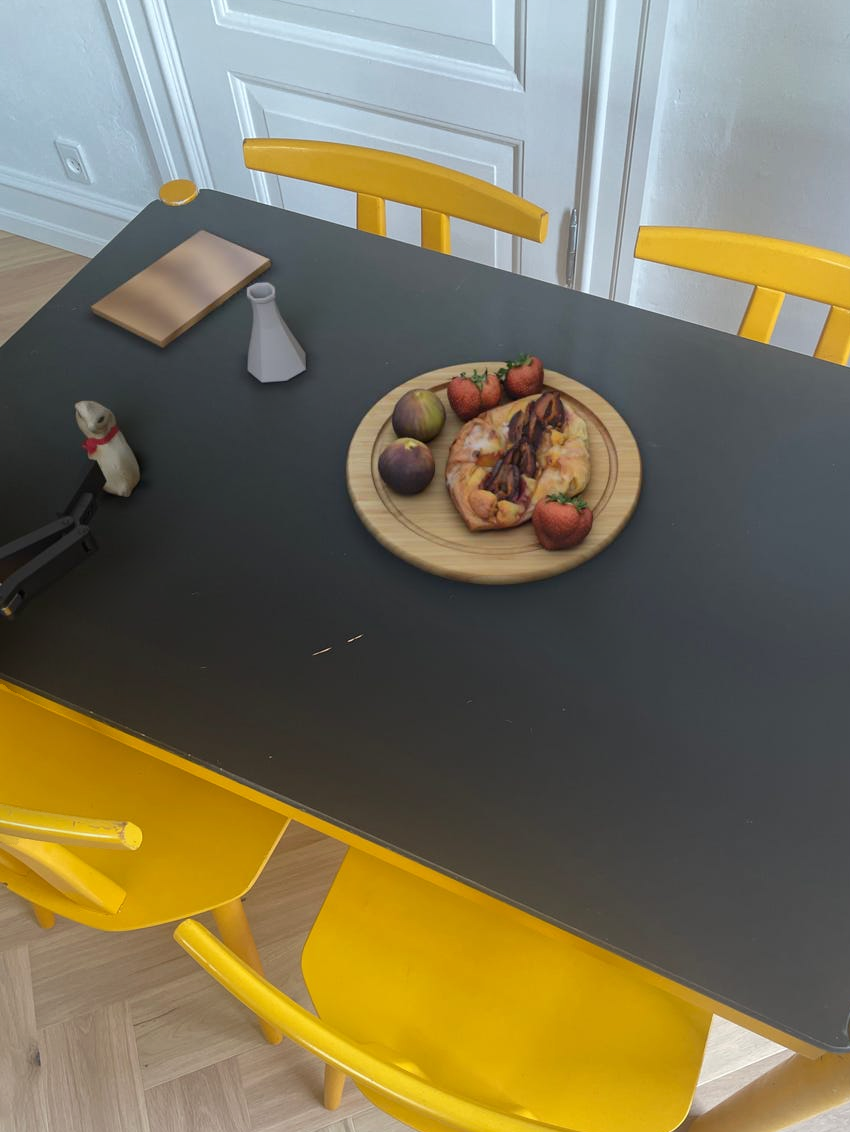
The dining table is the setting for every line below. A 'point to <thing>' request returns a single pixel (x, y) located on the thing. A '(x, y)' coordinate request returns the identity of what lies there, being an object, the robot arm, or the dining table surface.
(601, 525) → the wooden plate
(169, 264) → the wooden board
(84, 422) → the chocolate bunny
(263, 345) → the flask
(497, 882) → the dining table surface
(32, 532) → the robot arm
